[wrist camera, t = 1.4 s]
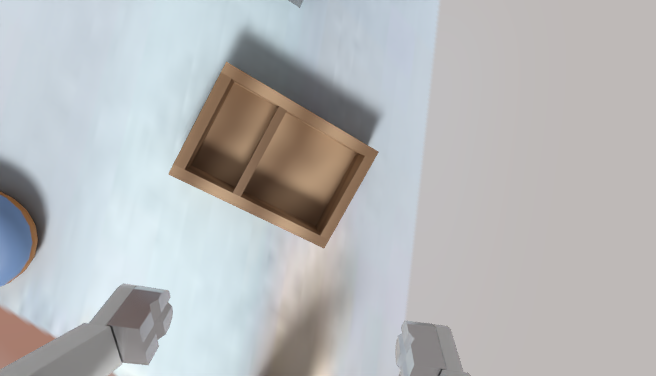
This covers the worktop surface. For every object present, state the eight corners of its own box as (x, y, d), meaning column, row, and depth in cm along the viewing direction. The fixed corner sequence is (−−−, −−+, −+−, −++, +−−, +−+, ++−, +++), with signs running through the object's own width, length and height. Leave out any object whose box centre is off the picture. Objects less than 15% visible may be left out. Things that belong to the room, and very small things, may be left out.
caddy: (178, 168, 33) (168, 174, 29) (230, 68, 32) (226, 61, 29) (317, 235, 37) (324, 248, 34) (366, 148, 37) (378, 151, 33)
